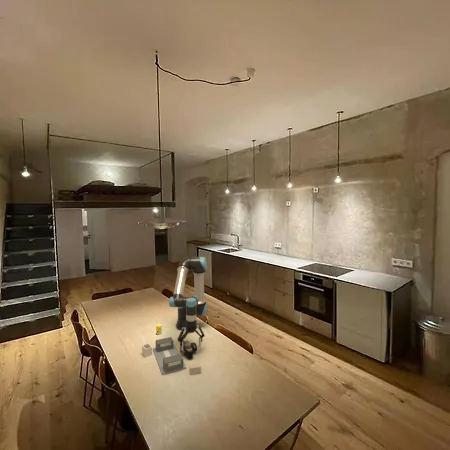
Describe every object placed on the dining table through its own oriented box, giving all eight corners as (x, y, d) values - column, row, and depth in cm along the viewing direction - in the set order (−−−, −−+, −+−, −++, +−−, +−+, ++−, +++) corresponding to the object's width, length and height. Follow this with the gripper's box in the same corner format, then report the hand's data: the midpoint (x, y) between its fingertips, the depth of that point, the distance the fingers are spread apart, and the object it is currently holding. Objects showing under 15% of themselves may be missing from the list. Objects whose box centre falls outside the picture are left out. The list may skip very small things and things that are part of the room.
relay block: (148, 351, 197) (148, 342, 196) (152, 355, 192) (152, 346, 192) (142, 354, 194) (142, 345, 193) (145, 357, 189) (145, 348, 189)
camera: (200, 356, 190) (200, 343, 190) (187, 361, 184) (187, 347, 184) (191, 347, 203) (190, 334, 203) (178, 351, 197) (178, 338, 197)
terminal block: (199, 369, 175) (199, 363, 174) (200, 373, 171) (200, 366, 171) (189, 371, 173) (189, 364, 172) (190, 375, 169) (190, 368, 169)
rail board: (173, 345, 206) (173, 336, 206) (186, 368, 175) (186, 358, 175) (152, 349, 199) (152, 340, 199) (162, 375, 168) (162, 364, 168)
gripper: (205, 315, 202) (205, 342, 203) (173, 320, 191) (173, 349, 192) (209, 318, 195) (209, 347, 196) (175, 324, 185) (175, 354, 185)
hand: (191, 348), depth 194 cm, fingers open, 13 cm apart
